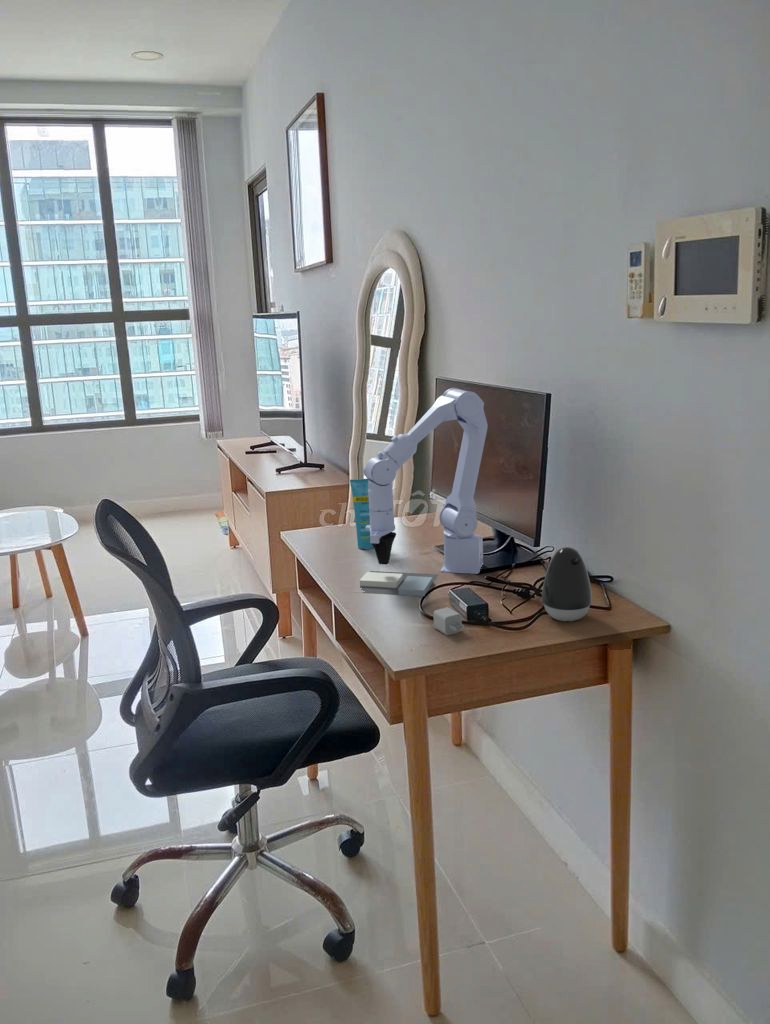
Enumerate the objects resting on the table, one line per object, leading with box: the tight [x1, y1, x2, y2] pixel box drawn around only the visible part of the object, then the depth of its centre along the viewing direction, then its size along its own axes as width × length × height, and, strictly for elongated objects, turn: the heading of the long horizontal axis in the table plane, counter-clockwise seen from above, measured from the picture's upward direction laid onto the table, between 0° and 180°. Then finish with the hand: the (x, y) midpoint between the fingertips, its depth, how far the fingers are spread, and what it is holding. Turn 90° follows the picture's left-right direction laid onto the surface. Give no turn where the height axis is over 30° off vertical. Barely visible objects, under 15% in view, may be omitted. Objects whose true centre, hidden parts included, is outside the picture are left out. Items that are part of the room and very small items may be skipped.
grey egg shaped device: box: [541, 546, 593, 622], centre depth 175 cm, size 10×10×15 cm
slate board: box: [397, 576, 434, 597], centre depth 196 cm, size 9×6×1 cm, turn 164°
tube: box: [349, 477, 374, 550], centre depth 228 cm, size 7×5×19 cm, turn 103°
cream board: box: [359, 571, 403, 588], centre depth 201 cm, size 9×1×6 cm
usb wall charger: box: [432, 606, 466, 636], centre depth 172 cm, size 4×7×4 cm, turn 28°
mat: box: [360, 570, 439, 597], centre depth 201 cm, size 17×15×1 cm
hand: (384, 563), depth 202 cm, fingers closed
